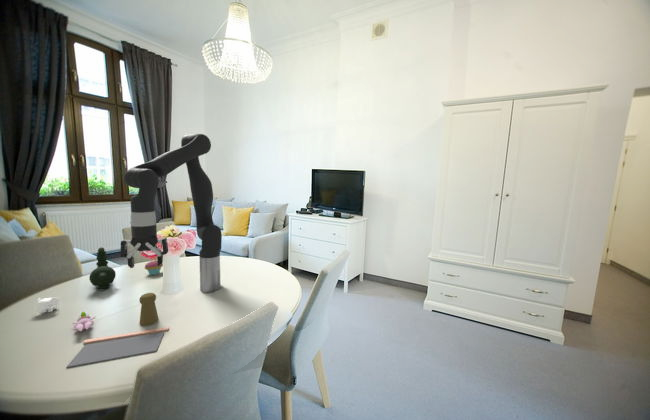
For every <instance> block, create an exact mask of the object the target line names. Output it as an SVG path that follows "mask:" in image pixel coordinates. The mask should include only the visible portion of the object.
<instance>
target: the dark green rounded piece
mask: <svg viewBox="0 0 650 420" xmlns="http://www.w3.org/2000/svg"><path fill="white" fill-rule="evenodd" d="M106 254H107V251H106V249H105V248H104V247H99V248H98V249H97V252H96V255H97V257H95V259H96V260H97V261H96V263H95V265H96V268H94V269H93V270H92V271H91V273H90V274H89V278H88V279H89V282H90V284H91V285H93V286H94V287H97V288H96V289H97V290H98V291H106V290H108V289H109V288H110V284H113V282H114V280H115V279H116V271H115V270H114V268H113V267H110V266H109V261H108V260H107V259H108V256H107V255H106Z"/></svg>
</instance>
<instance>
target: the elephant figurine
mask: <svg viewBox="0 0 650 420" xmlns="http://www.w3.org/2000/svg"><path fill="white" fill-rule="evenodd" d="M59 302H60V299H59V298H58V297H56V296H53V297H46V298H42V297H39V298H37V300H36V301H35V303H34V305H35V306H36V312H38V313H40V314H44V313H47V312H48V313H51V312H53V310H57V309H58V305H59Z"/></svg>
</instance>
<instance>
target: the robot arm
mask: <svg viewBox="0 0 650 420" xmlns="http://www.w3.org/2000/svg"><path fill="white" fill-rule="evenodd" d="M180 144H181V145H180V146H181V147H178V148H176V149H173V150H169V151H167V152H164V153H162V154H160V155H158V156H157V157H155V158H153V159H151V160H150V161H147V162H144V163H141V164H139V165H135V166H133V167H131V168H130V169H127V170H126V172H125V173H124V175H123V181H124V183H125V184H126V185H127V186H128V187H130V188H134V189H138V193H137V194H135V195H133V196H131V198H130V231H131V232H130V234H131V239H126V238H125V239H122V240H121V241H120V257H122V258H126V259H127V266H128V267H129V268H130V269H133V268H135V257H134V255H135V254H136V252H150V251H152V253H154V254H157V258H156V261H157V263H158V266H160V265H161V264H162V263H164V256H165V255H167V253H169V244H168V238H167V237H163V238H158V232H157V231H158V230H157V229H158V228H157V215H156V210H155V209H156V208H155V207H156V206H155V201H156V200H155V199H156V197H157V192H158V189H159V184H160V183H159V182H160V181H159V180H160V179H159V178H162V177H166V176H167V175H169V174H170V173H171V172H173V171H175V170H176V169H178V168H179V167H181V166H182V165H186V168H187V169H186V170H187V174H188V178H189V186H190V192H191V198H192V203H193V208H194V212H195V221H196V223H195V225H196V235H197V238H199V239H200V240H201V249H200V250H199V287H200V288H199V290H200V292H202V293H213V292H216V291H220V290H221V249H222V235H223V234H222V230H221V228H220V227H219V226H218V225H217V224H215V223H214V219H213V215H212V214H213V213H212V208H213V203H214V191H213V184H212V182H211V179H210V178H209V176H208V175H207V173H206V172H205V171H204V169H203V168H202V166H201V163H200V156H202V155H206V154H207V153H209V152H210V150H211V148H212V143H211V140H210V138H209V137H208V136H207V135H205V134H203V133H191V134H184V135H183V136H182V137H181V141H180ZM158 243H159V244H160V245H161V246H162V247H161V248H162V250H161V249H160V247H158V245H157V244H158ZM129 245H131V246H133V248H132V249H131V251H130V252H128V246H129Z"/></svg>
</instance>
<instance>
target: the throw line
mask: <svg viewBox="0 0 650 420" xmlns="http://www.w3.org/2000/svg"><path fill="white" fill-rule="evenodd" d="M169 330H170V326H167V327H165V326H163V327H159V328H153V329H146V330H140V331H133V332H128V333H120V334H115V335H114V334H113V335H107V336H106V335H105V336H100V337H94V338H88V339H85V340H84V341H83V343H82V344H83V345H87V344H93V343H100V342H106V341H112V340H118V339H124V338H131V337H137V336H143V335H149V334H155V333H162V332H168V331H169Z"/></svg>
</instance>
